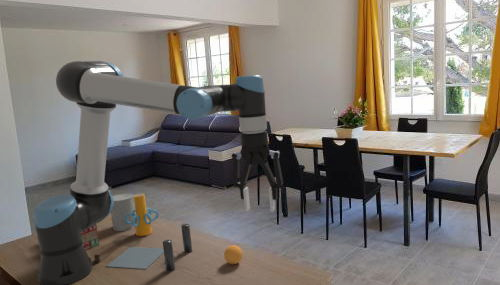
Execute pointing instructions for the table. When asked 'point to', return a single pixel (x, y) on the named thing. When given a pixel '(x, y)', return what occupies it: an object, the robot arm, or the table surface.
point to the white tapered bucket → (122, 211)
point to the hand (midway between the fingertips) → (260, 209)
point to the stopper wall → (105, 252)
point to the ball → (233, 254)
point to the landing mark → (137, 258)
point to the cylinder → (141, 216)
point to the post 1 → (168, 255)
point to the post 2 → (186, 238)
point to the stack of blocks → (90, 237)
